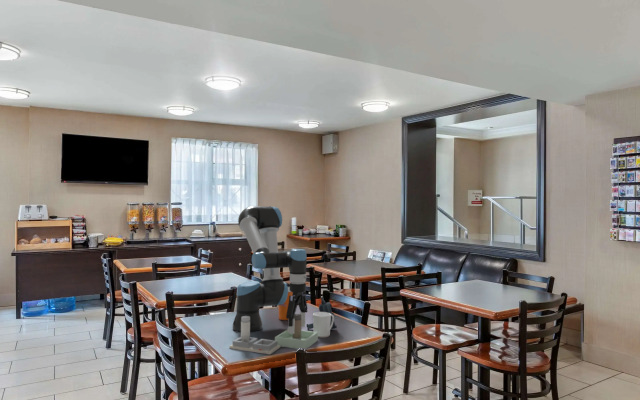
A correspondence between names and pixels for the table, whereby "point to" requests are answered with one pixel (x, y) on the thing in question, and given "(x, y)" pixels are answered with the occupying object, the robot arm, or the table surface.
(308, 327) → the gun
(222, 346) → the table surface
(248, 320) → the fuse
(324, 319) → the mug
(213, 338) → the table surface
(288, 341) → the parts tray
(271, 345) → the panel
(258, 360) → the table surface
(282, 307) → the shaker bottle
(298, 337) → the fuse
